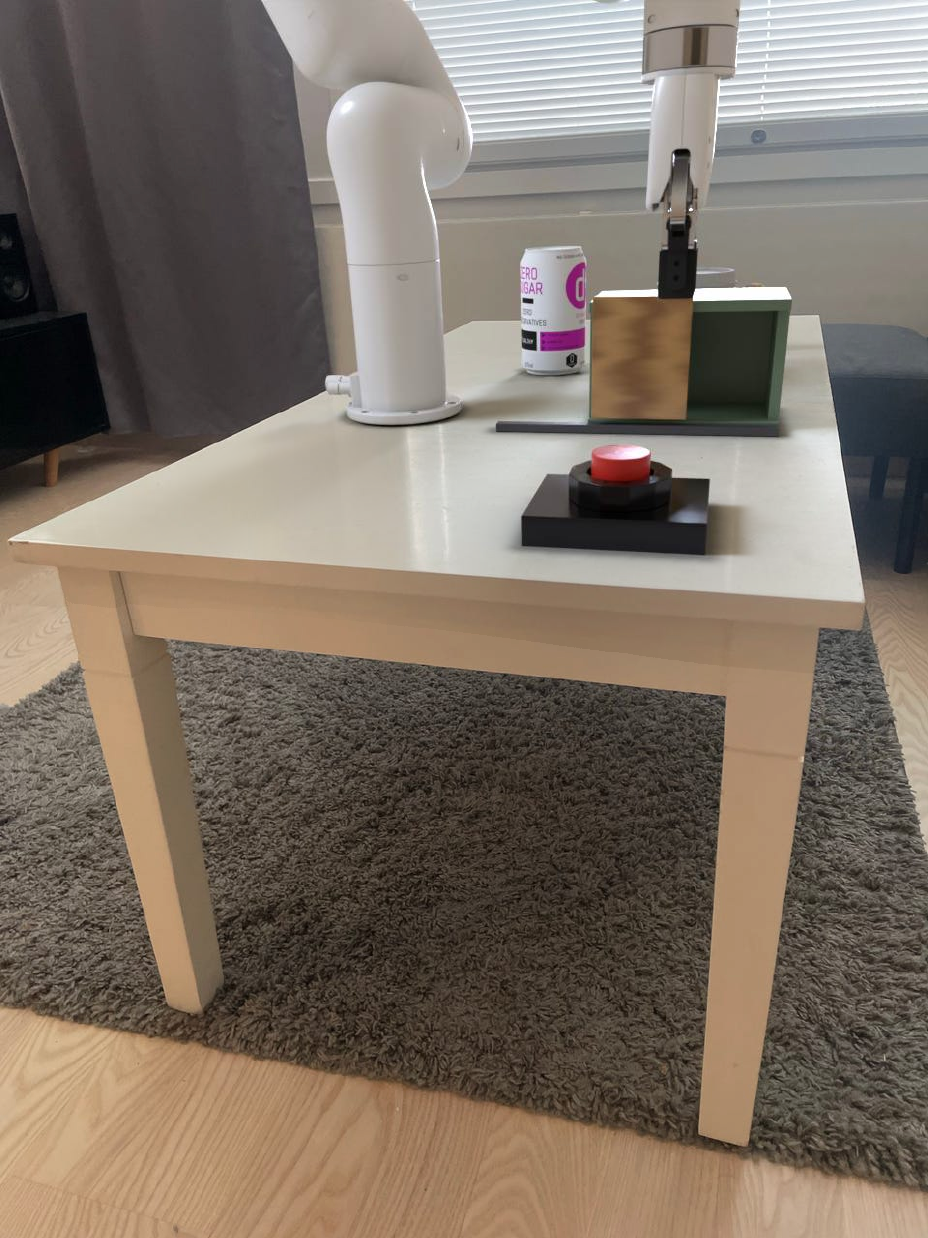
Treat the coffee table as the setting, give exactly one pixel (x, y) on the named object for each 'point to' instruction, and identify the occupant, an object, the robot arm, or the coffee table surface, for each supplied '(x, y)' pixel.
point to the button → (620, 463)
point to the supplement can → (553, 310)
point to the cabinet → (713, 369)
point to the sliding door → (640, 356)
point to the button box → (619, 513)
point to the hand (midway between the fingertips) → (676, 295)
